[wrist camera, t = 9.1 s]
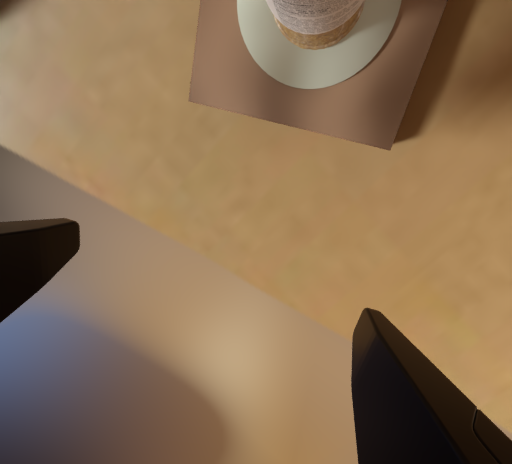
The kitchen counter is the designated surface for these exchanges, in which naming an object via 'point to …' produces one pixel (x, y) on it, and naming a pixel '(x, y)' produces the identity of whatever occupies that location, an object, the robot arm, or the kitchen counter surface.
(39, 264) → the robot arm
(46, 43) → the kitchen counter surface
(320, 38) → the sprinkles bottle
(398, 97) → the walnut plinth
